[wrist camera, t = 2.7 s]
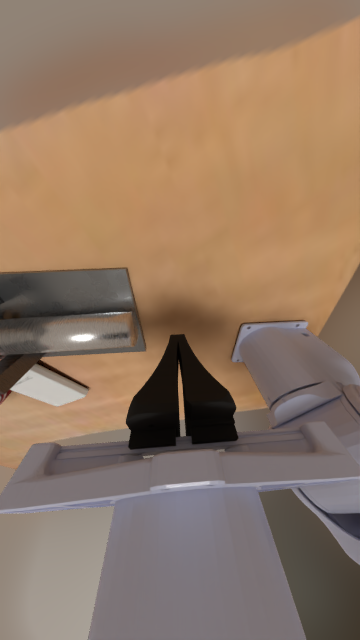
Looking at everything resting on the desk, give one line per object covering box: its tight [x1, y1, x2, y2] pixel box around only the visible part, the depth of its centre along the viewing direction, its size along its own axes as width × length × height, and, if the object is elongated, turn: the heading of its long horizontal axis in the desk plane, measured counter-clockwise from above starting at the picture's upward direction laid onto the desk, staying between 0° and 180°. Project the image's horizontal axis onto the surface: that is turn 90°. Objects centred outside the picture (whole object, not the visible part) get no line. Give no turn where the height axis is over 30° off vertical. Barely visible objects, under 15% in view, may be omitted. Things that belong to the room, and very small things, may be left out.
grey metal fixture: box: [0, 268, 146, 394], centre depth 14 cm, size 24×12×7 cm, turn 91°
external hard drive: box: [10, 364, 89, 406], centre depth 23 cm, size 2×8×12 cm
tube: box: [0, 312, 138, 355], centre depth 15 cm, size 18×4×4 cm, turn 92°
